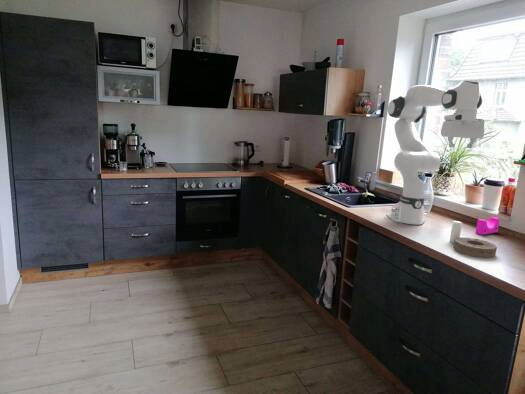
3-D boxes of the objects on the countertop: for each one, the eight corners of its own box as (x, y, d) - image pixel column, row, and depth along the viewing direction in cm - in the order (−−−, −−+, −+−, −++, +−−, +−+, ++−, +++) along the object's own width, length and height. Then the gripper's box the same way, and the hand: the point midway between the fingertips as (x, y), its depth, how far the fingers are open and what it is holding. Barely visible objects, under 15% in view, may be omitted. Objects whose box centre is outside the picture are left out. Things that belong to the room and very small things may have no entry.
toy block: (485, 228, 218) (488, 215, 216) (497, 232, 212) (499, 218, 211) (470, 231, 209) (473, 218, 208) (482, 234, 204) (485, 220, 203)
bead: (446, 245, 180) (447, 237, 180) (476, 245, 184) (477, 237, 183) (470, 258, 165) (472, 249, 164) (503, 257, 168) (505, 248, 167)
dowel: (447, 241, 188) (450, 220, 186) (455, 241, 189) (458, 221, 187) (453, 243, 184) (456, 223, 182) (460, 243, 185) (464, 223, 183)
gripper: (479, 118, 184) (475, 148, 186) (441, 115, 180) (436, 146, 182) (490, 118, 178) (484, 149, 180) (450, 115, 173) (445, 147, 176)
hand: (460, 147), depth 181 cm, fingers open, 8 cm apart
